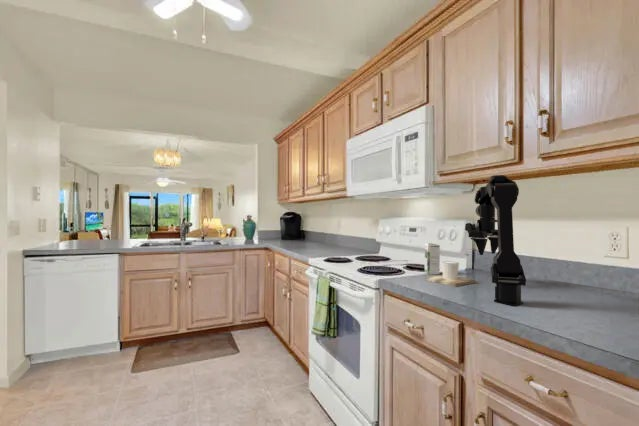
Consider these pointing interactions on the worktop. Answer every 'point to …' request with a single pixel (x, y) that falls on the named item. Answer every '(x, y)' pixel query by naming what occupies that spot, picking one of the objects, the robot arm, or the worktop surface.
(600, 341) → the worktop surface
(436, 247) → the syrup box
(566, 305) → the worktop surface
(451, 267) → the white short cylinder
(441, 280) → the birch board
